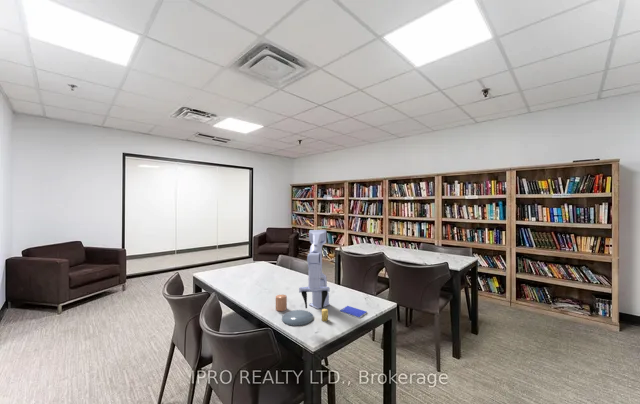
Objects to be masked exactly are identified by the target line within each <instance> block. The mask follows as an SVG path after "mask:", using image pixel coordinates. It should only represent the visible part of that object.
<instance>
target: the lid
mask: <svg viewBox="0 0 640 404" xmlns="http://www.w3.org/2000/svg"><path fill="white" fill-rule="evenodd" d="M281 320H282V321H281V322H282V323H284V324H285V325H288V326H293V327H294V326H295V327H299V326H301V327H302V326H306V325H308V324H310V323H312V322H313V320H314V315H313V313H312V312H310V311H308V310H303V309H295V310H291V311H287V312H285V313H284V314H283V315H282V317H281Z"/></svg>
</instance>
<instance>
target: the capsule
mask: <svg viewBox="0 0 640 404" xmlns="http://www.w3.org/2000/svg"><path fill="white" fill-rule="evenodd" d="M321 321H322V322H328V321H329V309H328V308H322V309H321Z"/></svg>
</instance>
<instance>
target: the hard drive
mask: <svg viewBox="0 0 640 404" xmlns="http://www.w3.org/2000/svg"><path fill="white" fill-rule="evenodd" d="M339 313H341V314H345V315H348V316H350V317H354V318H356V317H357V319H360V317H361V318H362V317H364V316H365V315H367V314H368V311H366V310H363V309H359V308H356V307H352V306H350V305H347V306H345V307H343V308H341V309H339ZM366 313H367V314H366Z"/></svg>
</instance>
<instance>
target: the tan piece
mask: <svg viewBox="0 0 640 404" xmlns="http://www.w3.org/2000/svg"><path fill="white" fill-rule="evenodd" d="M287 308H288V298H287V295H286V294H277V295H276V296H275V310H276V311H277V312H283V311H286V310H287Z"/></svg>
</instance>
